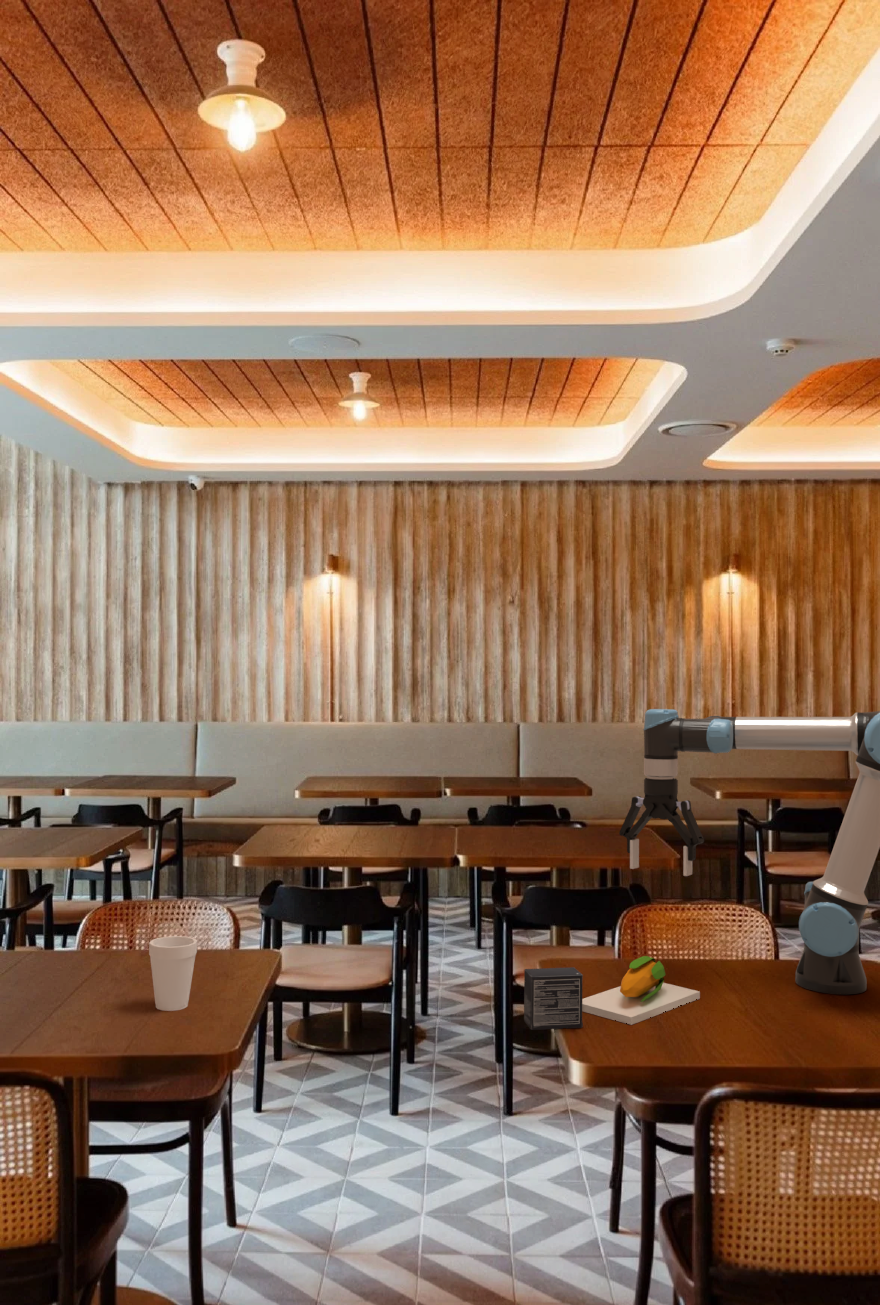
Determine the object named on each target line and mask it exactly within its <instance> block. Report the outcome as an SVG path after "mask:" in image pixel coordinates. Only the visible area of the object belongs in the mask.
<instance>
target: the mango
mask: <svg viewBox="0 0 880 1305" xmlns="http://www.w3.org/2000/svg"><path fill="white" fill-rule="evenodd" d="M628 968H629V969H628V970H627V972H626V973H625V974H624V976H623V977H622V979H621V983H620V986H621V988H620V992H621V993H622V994H623V995H624V996H625V997H639V996H640V995H642V994H644V993H645V992H647V991H649V990H650V989H652V988H653V987H655V986H656V987H655V990H653V991H652V992H651V993H650V994H648V995H646V996H645V997H644V998H643V999H642V1001H640V1002H643V1001H645V1000H646V999H648V998H649V997H651V996H652V995H653V994H655V993H656V992H658V991H659V990H660V989H661V987H662V984H663V983H665V978H664V977H665V976H666V970H665V967H664V965H663V963H662V962H661V961H660V960H658V961H657V962H656V958H654V957H651V956H648V955H644V956H640V957H638V958H636V959H634V960H632V961H631V962H630V963H629V967H628Z"/></svg>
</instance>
